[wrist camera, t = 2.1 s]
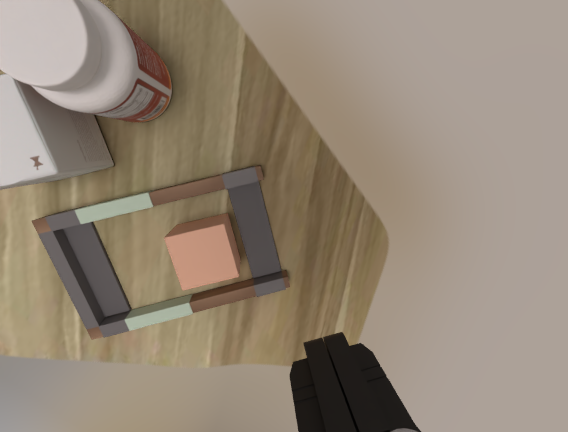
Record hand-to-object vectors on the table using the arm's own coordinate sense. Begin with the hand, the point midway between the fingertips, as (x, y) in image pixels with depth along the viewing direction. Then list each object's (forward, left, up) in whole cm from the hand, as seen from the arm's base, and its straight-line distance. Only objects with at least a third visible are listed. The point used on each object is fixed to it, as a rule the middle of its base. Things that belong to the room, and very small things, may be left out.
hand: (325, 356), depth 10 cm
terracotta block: (0, -7, -18) cm, 19 cm away
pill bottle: (-15, -9, -18) cm, 25 cm away
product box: (-12, -16, -18) cm, 27 cm away
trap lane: (0, -11, -18) cm, 20 cm away
